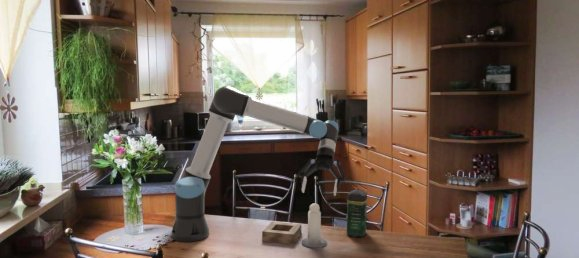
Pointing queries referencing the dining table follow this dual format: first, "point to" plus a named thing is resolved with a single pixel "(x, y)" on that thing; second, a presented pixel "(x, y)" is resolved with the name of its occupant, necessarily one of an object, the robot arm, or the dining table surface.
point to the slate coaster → (321, 244)
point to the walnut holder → (281, 232)
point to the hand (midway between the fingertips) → (318, 192)
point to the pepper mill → (314, 224)
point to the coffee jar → (356, 213)
